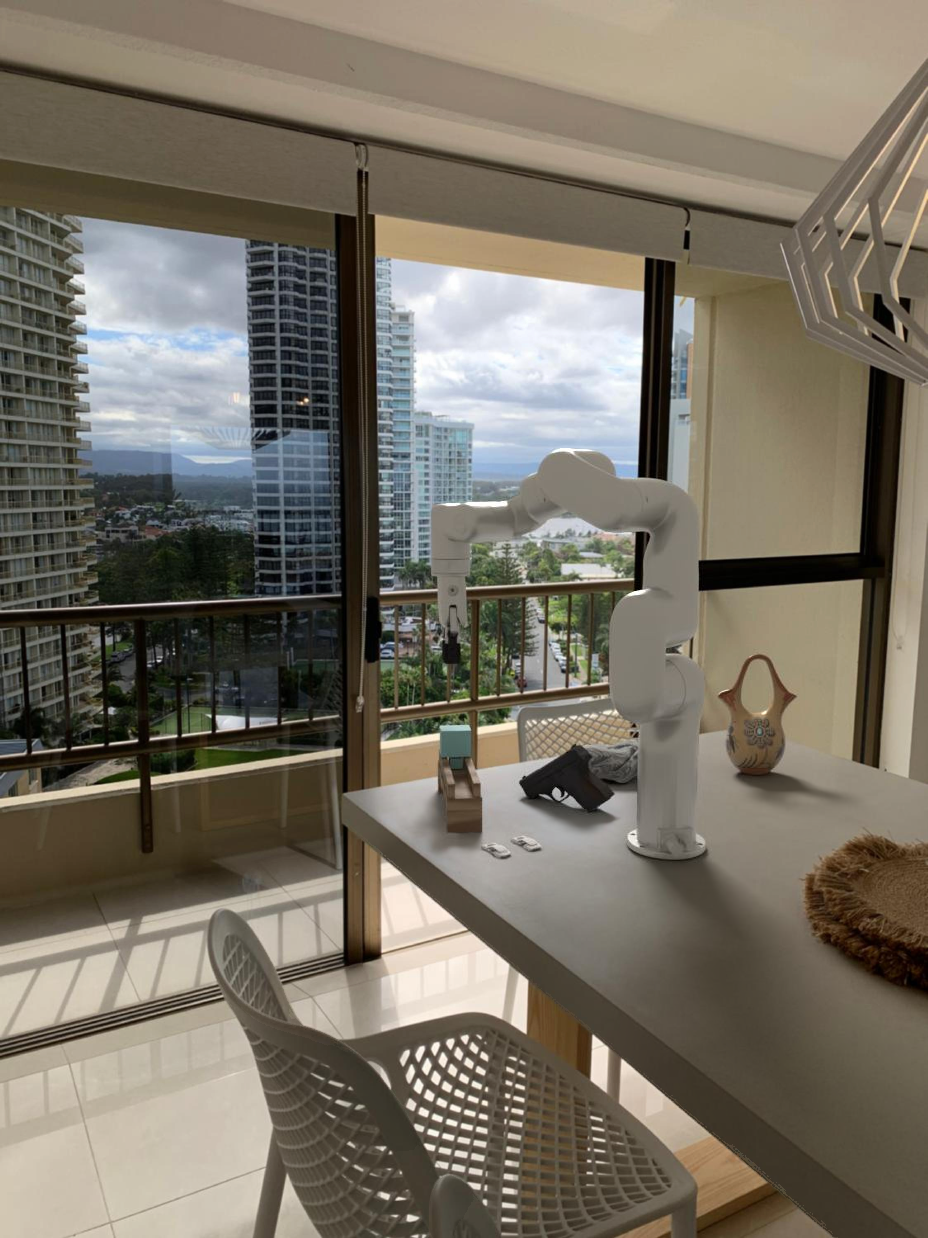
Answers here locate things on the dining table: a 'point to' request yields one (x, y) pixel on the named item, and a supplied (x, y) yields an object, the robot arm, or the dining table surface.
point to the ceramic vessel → (756, 725)
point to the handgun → (568, 780)
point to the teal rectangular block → (455, 744)
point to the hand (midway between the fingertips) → (451, 660)
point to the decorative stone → (614, 760)
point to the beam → (460, 796)
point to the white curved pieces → (503, 851)
